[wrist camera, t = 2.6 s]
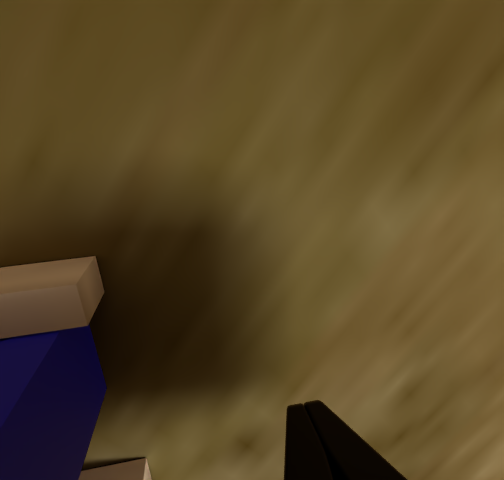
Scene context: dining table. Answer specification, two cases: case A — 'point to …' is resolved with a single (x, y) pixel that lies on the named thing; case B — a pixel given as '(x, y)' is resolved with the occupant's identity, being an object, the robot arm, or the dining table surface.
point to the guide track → (58, 320)
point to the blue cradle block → (48, 403)
